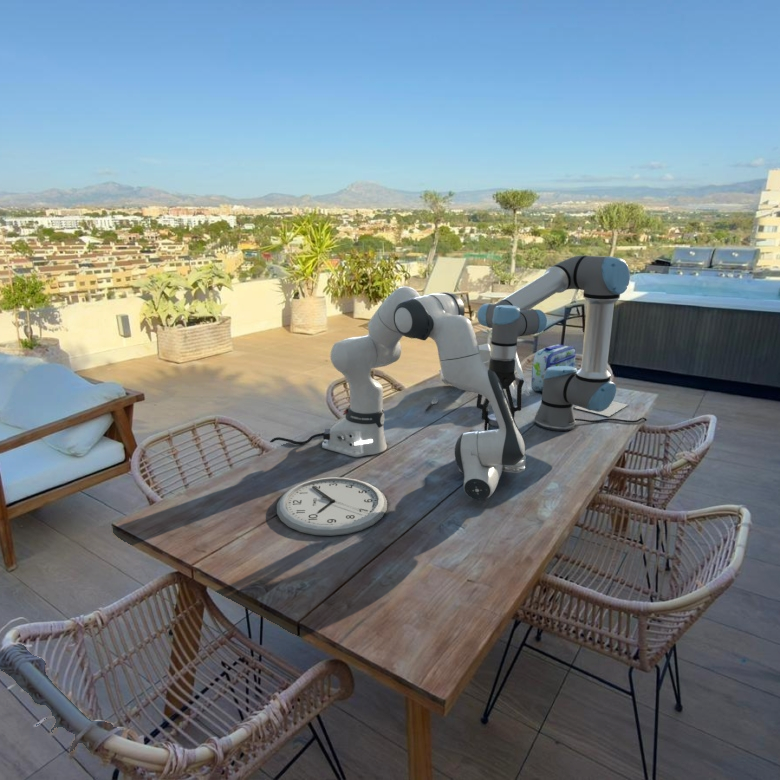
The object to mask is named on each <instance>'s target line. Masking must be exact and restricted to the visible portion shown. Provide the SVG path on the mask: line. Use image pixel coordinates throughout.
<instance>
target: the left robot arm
mask: <svg viewBox="0 0 780 780" xmlns="http://www.w3.org/2000/svg"><path fill="white" fill-rule="evenodd" d="M465 312H466V311H465V304H464V303H463V300H462V299H461V297H460V296H459V295H457V294H455V293H451V292H439V293H429V294H425V295H420V293H419V292H418V291H417V290H416V289H414V288H413V287H410V286H400V287H398V288H396V289H395V290H393V292H391V293H390V294H389V295H388V296H387V297H386V298H385V299H384V301H383V302H382V303H381V304H380V305H379V306H378V308H377V309H376V311H375V312H374V314H373V315H372V316H371V317H370V319H369V320H368V323H367V330H368V334H366V335H362V336H354V337H348V338H344V339H342V340H340V341H337V342H335V343H333V345H332V347H331V350H330V356H329V357H330V361H331V364H332V366H333V367H334V369H336V371H337V372H339V373H341V374H342V375H343V376H344V378H345V380H346V382H347V385H348V389H349V405H348V407H346V408H345V410H343V415H345V416H344V417H343V418H341V419H340V420H339V421H337V422H336V423H334V424H333V425H332V426H331V428H325V429H324V431H323V432H319V433H316V434H313V435H311V436H309V438H308V439H306V440H304V441H299V440H298V441H297V440H293V439H290V438H285V437H281V436H276V437H273V438H272V439H271V440H270V441H269V443H274V442H275V441H282V442H287V443H291V444H293V445H307V444H308V443H310V442H311V441H312V440H313V439H315V438H319V437H323V438H322V439H323V441H322V443H321V448H322V449H325V450H328V451H332V452H336V453H338V454H343V455H345V456H348V457H349V456H350V457H353V458H361V457H364V456H372V455H377V454H381V453H382V452H384V451H386V450H387V448H388V445H387V444H388V443H387V441H386V437H385V429H384V424H385V408H384V387H383V386H382V384H381V383H380V382H379V381H378V380H376V379H374V378H373V377H372V374H371V370H372V369H378V368H383V367H386V366H389V365H392V364H393V363H396V362H397V361H398V360H399V359H400V357H401V355H402V345H401V342H400V340H401V339H402V338H403V337H406V338H410V339H416V340H421V341H427V339H428V338H430V339H432V341H434V343H435V345H436V348H437V353H438V360H439V366H440V370H442V374H443V376H444V378H445V380H446V381H447V382H448V383H449V384H450V386H452V387H454V388H456V389H459V390H463V391H467V392H471V393H474V394H477V395H478V394H480V395H482V397H484V398H487V399H488V400H489V404H490V406H491V408H492V411H493V414H495V417H496V419H497V422H498V425H499V429H495V430H488V429H487V430H486V431H484V430H475V431H474V430H473V431H466V432H465V431H464V432H462V433H461V434H460V435H459V437H458V438H457V441H456V443H455V445H454V446H455V447H454V457H455V462H456V466H457V467H458V471H459V472H460V473H462V474H463V491H464V492H465V493H464V494H466V495H467V497H469V498H471V499H473V500H474V501H475V500H476V501H484V500H487V499H489V498H490V497H491V496H492V495H493V493H494V492H495V490H496V488H497V486H498V484H499V480H500V478H501V476H502V473H503V472H506V473H512V474H519V473H521V472H524V471H525V469H526V461H527V455H526V445H525V441H524V438H523V436H522V434H521V432H520V429H519V427H518V425H517V423H516V421H515V416H514V417H513V415H512V412H511V409H510V405H509V401H508V397H507V394H506V392H505V389H503V388H502V385H501V383H500V380H499V378H498V376H497V375H496V373H495V372H494V371H492V370H489V369H488V368H487V367H486V366H485V364H484V363H483V361H482V359H481V356H480V353H479V352H480V351H479V346H478V345H479V343H478V340H477V339H478V338H477V335H476V332H475V329H474V326H473V323H472V322H471V320H470V319H469V317H467V316H465V314H466V313H465Z"/></svg>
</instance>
